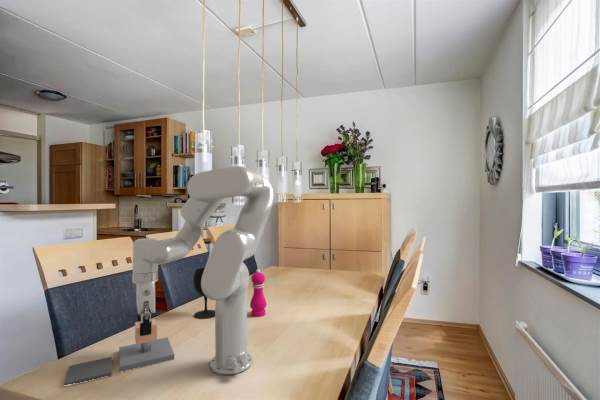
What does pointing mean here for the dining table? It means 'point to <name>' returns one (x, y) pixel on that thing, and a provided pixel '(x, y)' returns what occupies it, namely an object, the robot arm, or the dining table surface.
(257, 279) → the pepper mill
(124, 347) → the stand
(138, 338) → the tan slotted box
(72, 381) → the pad
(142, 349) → the post
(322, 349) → the dining table surface
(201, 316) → the wine glass
